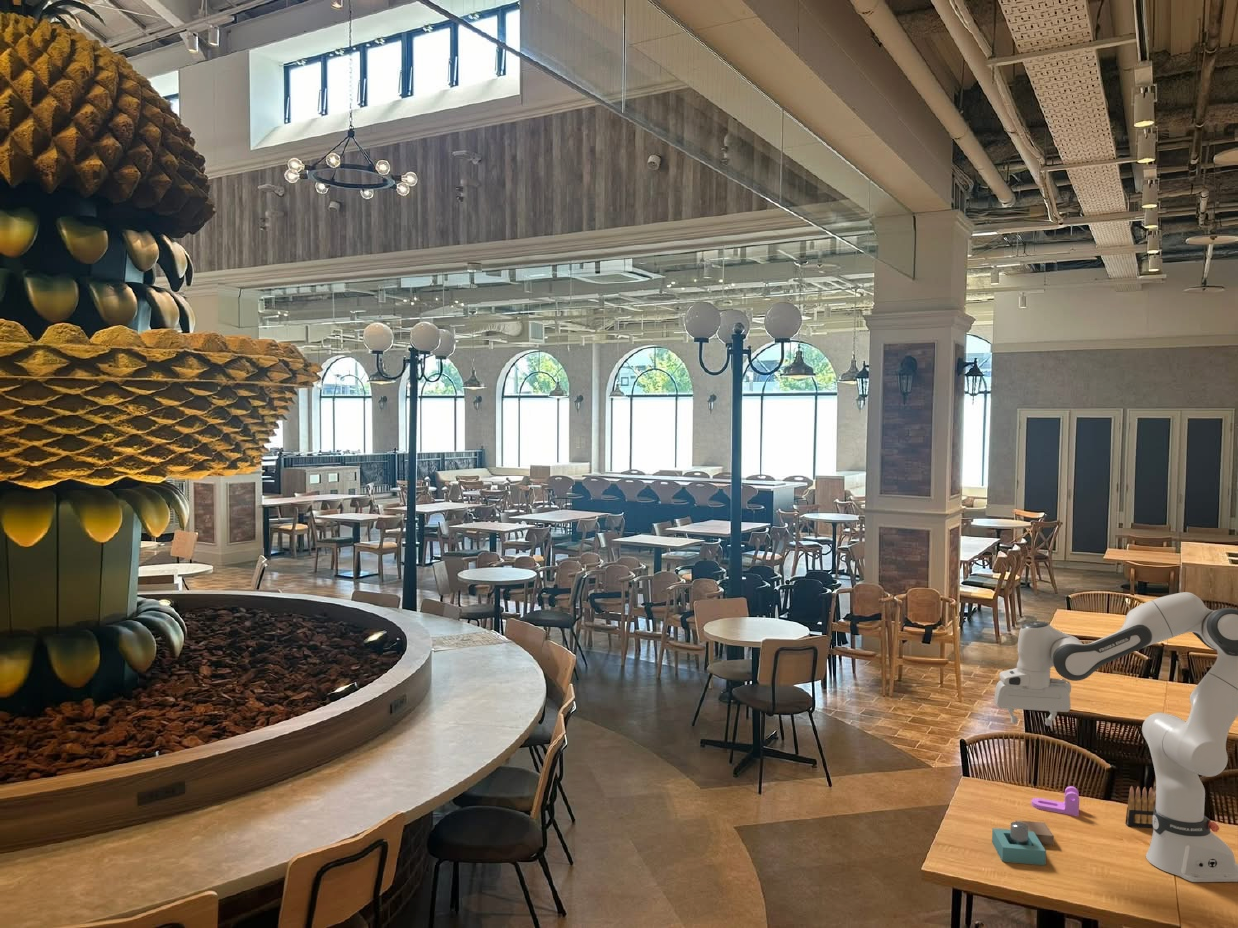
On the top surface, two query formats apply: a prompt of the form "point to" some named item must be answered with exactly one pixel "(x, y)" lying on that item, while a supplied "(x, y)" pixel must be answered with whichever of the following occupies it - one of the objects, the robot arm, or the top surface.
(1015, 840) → the grey cylinder
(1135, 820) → the ammunition clip
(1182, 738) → the robot arm
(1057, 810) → the bracket
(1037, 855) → the hole block
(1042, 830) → the wooden block
